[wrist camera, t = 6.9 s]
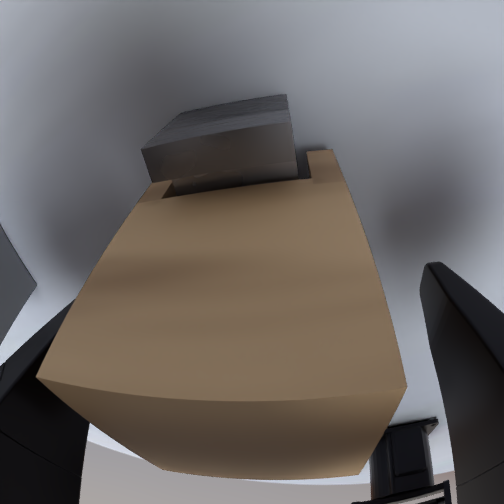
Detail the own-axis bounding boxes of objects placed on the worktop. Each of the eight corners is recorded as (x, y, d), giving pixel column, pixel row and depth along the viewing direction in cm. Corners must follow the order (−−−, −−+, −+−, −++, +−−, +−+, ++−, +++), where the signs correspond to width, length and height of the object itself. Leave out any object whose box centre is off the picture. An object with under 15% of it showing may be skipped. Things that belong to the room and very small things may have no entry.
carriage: (338, 284, 11) (358, 474, 6) (202, 294, 12) (162, 469, 7) (331, 149, 8) (407, 387, 3) (158, 174, 9) (36, 376, 4)
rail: (316, 397, 18) (317, 440, 16) (269, 399, 18) (266, 442, 16) (286, 94, 8) (290, 121, 5) (180, 113, 8) (140, 149, 6)
